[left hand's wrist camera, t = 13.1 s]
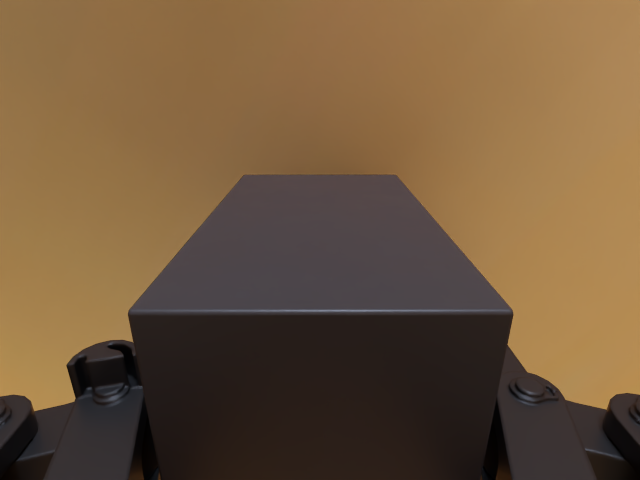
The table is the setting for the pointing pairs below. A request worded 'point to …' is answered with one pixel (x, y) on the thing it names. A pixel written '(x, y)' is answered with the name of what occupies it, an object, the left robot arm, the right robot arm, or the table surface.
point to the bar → (320, 339)
